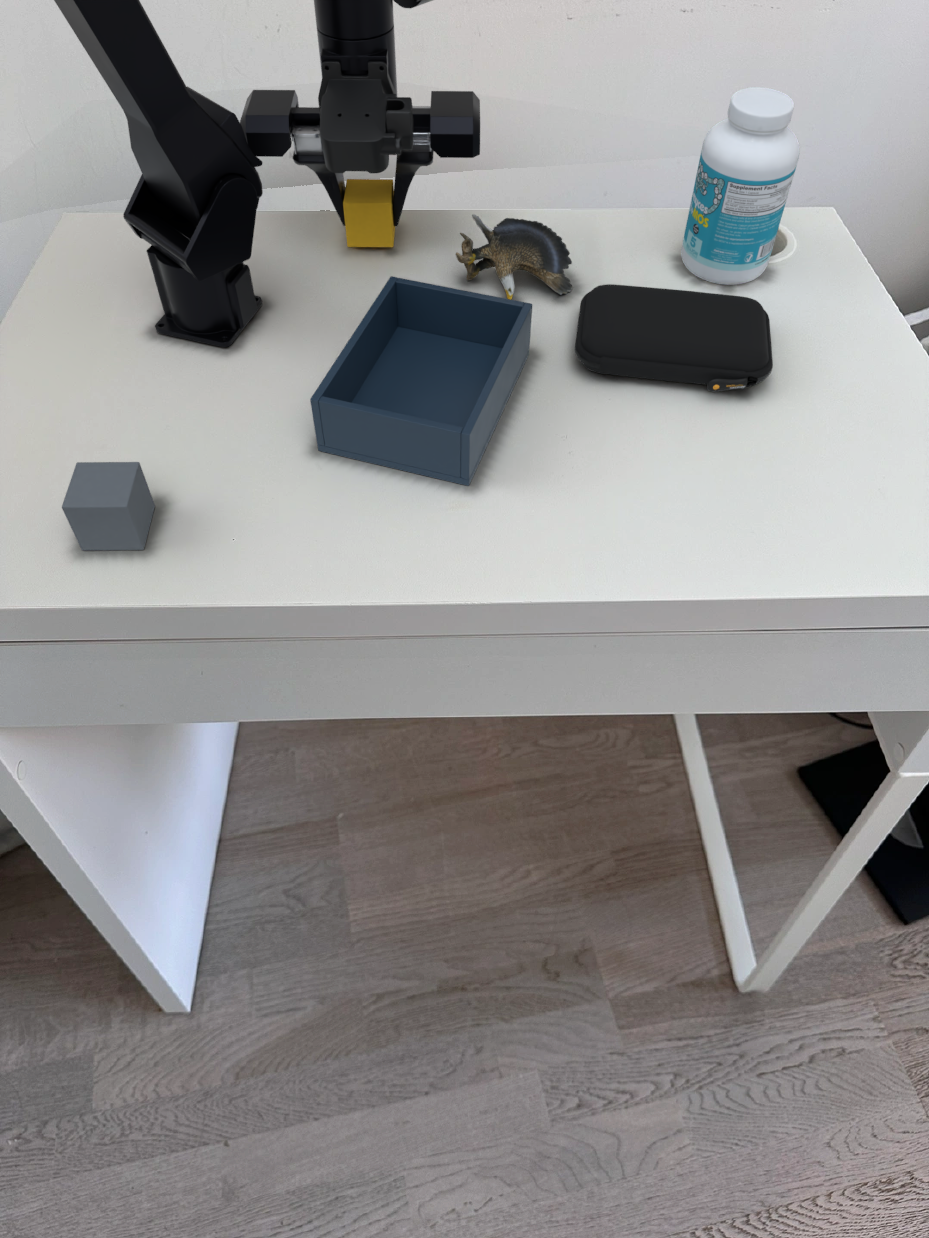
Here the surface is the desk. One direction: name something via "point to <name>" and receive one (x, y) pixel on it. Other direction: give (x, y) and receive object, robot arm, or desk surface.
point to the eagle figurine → (518, 253)
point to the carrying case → (674, 336)
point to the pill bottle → (741, 188)
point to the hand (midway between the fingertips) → (370, 224)
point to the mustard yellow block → (369, 212)
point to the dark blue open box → (423, 379)
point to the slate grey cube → (109, 506)
